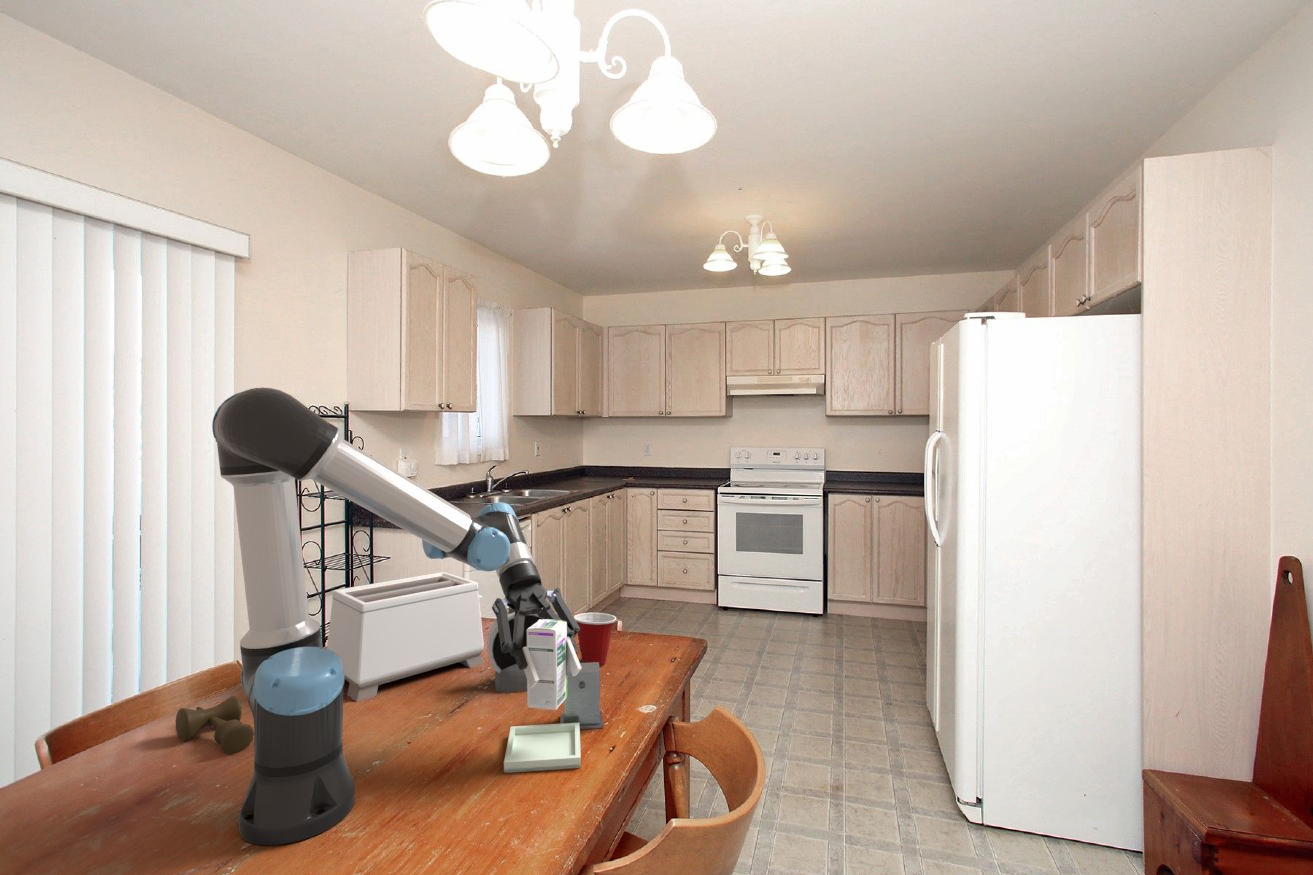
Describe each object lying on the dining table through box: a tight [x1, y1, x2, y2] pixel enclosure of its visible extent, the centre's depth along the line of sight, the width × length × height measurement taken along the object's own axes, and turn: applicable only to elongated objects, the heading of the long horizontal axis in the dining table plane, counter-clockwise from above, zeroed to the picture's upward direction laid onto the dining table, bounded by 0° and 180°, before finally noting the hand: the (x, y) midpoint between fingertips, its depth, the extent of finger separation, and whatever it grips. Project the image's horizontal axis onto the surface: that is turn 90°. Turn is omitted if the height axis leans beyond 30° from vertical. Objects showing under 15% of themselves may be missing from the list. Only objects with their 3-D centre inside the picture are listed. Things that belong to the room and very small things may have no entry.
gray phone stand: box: [559, 662, 604, 730], centre depth 124 cm, size 8×6×11 cm
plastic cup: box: [573, 612, 617, 668], centre depth 156 cm, size 11×11×12 cm
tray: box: [503, 723, 582, 774], centre depth 113 cm, size 13×13×2 cm
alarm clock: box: [486, 606, 543, 693], centre depth 143 cm, size 16×10×18 cm, turn 109°
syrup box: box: [526, 619, 568, 711], centre depth 113 cm, size 6×6×14 cm
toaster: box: [326, 571, 486, 703], centre depth 151 cm, size 19×34×21 cm, turn 137°
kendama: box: [175, 695, 254, 755], centre depth 117 cm, size 6×10×20 cm
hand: (556, 677), depth 110 cm, fingers closed on syrup box, 8 cm apart
